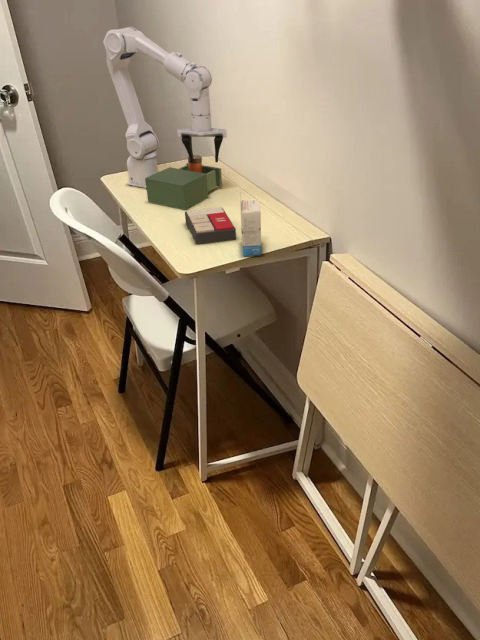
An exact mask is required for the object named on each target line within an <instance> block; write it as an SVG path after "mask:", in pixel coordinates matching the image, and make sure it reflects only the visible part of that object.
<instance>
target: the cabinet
mask: <svg viewBox="0 0 480 640" xmlns="http://www.w3.org/2000/svg"><path fill="white" fill-rule="evenodd" d="M145 182H146V188H145V190H146V196H147V202H148V203H150V204H155V205H158V206H159V205H160V206H164V207H168V208H174V209H179V210H184V211H188V209H191V208H192V207H194V206H196V205H198V204H200V203H201V202H203V201H205V200H207V199H208V198H209V192H208V188H207V175H206V174H204V173H199V172H193V171H188V170H182V169H179V168H176V167H171V166H170V167H167V168H165V169H163V170H160V171H158V173H156V174H153V175H151V176H149V177H147V178H145Z"/></svg>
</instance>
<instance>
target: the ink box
mask: <svg viewBox="0 0 480 640" xmlns="http://www.w3.org/2000/svg"><path fill="white" fill-rule="evenodd" d="M239 200H240V204H239V205H240V206H239V207H240V233H241V249H242V257H261V256H262V219H261V218H262V217H261V216H262V215H261V204H260V203H261V202H260V200H259V199H242V189H241V188H239Z"/></svg>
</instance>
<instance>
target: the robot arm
mask: <svg viewBox="0 0 480 640" xmlns="http://www.w3.org/2000/svg"><path fill="white" fill-rule="evenodd" d="M102 43H103V46H104V49H105V53H106V56H105V57H106V65H107V69H108V72H109V75H110V78H111V81H112V83H113V86H114V90H115V93H116V95H117V98H118V101H119V104H120V106H121V109H122V113H123V115H124V118H125V121H126V123H127V129H126V132H125V135H124V136H125V139H126V150H127V152H128V154H129V156H128V158H127V160H126V168H127V173H128V174H127V175H128V183H127V185H128V186H134V187H137V188H143V189H146V182H145V178H147V177H149V176H151V175H153V174H156V173H158V172H159V167H158V161H157V160H158V159H157V154H158V152H157V151H158V149H160V148H159V147H160V141H159V138H158V136H157V134H156V133H155V132H154V129H153V127H152V126H151V125H150V124H149V123H147V122H146V120H145V117H144V113H143V111H142V108H141V105H140V104H141V103H140V101H139V99H138V95H137V92H136V89H135V86H134V83H133V80H132V77H131V74H130V70H129V68H128V66H129V64H130V61H131V59H132V58H133V57H134V56H135V55H136V54H137V53H141V54H143V55H144V56H147V57H149V58H150V59H152V60H154V61H156V62H157V63H159V64H161V65H163V66H164V69H165V72H166V73H168V74H169V75H170V76H172V77H174V78H175V79H177V80H179V81H180V82H182V83H183V84H184V86H185V88H186V89H187V91H188V96H189V107H190V116H191V117H190V119H191V127H189V128H178V129H177V131H176V132H177V138H181V142H182V144H183V146H184V148H185V150H186V152H187V155H188V156H189V158H190V162H193V155H194V152H193V142H192V141H193V140H192V139H193V138H198V137H199V138H213V144H214V163H218V162H219V154H220V149H221V146H222V143H223V140H224V138H226V139H227V137H228V134H227V129H226V128H214V127H212V116H211V99H210V86H211V85H212V83H213V76H212V74H211V72H210V70H209V69H208V68H207V67H206V66H204V65H199V66H197V63H196V62H194V61H190V60H188V59H187V58H185V57H183V53H182V52H180V51H177V52H175V51H172V52H170V53H169V52H168V51H166V50H165V49H163V48H162V47H161V46H159V45H158V44H157V43H155V42H154V41H153V40H151V39H150V38H149V37H147V36H145V34H144V33H143V32H142V31H141V30H137V28H136V27H133V26H126V27H123V28H117V29H110V30H108V31H107V32H106V34H105V36H104V39H103V40H102Z"/></svg>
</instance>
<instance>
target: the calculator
mask: <svg viewBox="0 0 480 640" xmlns="http://www.w3.org/2000/svg"><path fill="white" fill-rule="evenodd" d="M184 217H185V218H184V219H185V225H186V227H187V229H189V233H190V234H191V236H192V238H193V240H194V243H195V244H196V245H202V244H211V243H219V242H227V241H234V240H236V239H237V229H236V226H235V225H234V224H233V222H232V221H231V219H230V217H229V216H228V214H227V213H226V211H225V210H224V208H223V207H221V206H218V207H208V208H200V209H199V208H198V209H191V210H185V211H184Z"/></svg>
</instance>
